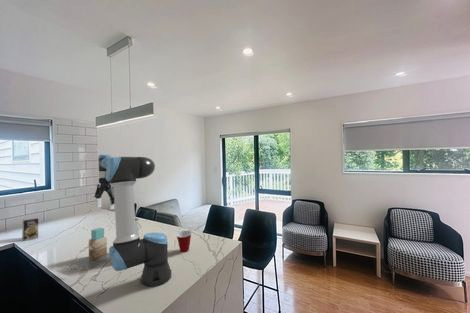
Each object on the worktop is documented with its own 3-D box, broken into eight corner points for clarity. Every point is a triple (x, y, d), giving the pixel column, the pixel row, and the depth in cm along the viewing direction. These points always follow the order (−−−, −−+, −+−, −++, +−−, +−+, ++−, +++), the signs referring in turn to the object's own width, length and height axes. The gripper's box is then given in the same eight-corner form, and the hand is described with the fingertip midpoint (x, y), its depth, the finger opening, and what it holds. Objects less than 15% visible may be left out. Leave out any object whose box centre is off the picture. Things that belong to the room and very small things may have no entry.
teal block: (104, 237, 137) (104, 228, 137) (96, 240, 132) (96, 230, 132) (99, 236, 139) (99, 227, 139) (91, 239, 134) (91, 229, 134)
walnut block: (106, 256, 137) (106, 246, 137) (95, 260, 131) (95, 251, 131) (100, 254, 140) (99, 245, 140) (88, 258, 134) (88, 249, 134)
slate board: (119, 258, 137) (119, 255, 137) (90, 271, 121) (90, 268, 121) (101, 253, 145) (101, 251, 145) (72, 265, 128) (72, 263, 128)
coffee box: (23, 241, 173) (23, 221, 173) (22, 239, 177) (22, 220, 177) (38, 238, 180) (38, 218, 180) (37, 236, 184) (36, 217, 184)
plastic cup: (173, 251, 145) (172, 233, 146) (186, 246, 154) (185, 229, 154) (182, 255, 138) (181, 236, 139) (195, 250, 146) (195, 232, 147)
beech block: (106, 246, 137) (106, 237, 137) (95, 251, 131) (95, 241, 131) (99, 245, 140) (99, 236, 140) (88, 249, 134) (88, 239, 134)
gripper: (122, 176, 143) (122, 208, 143) (99, 176, 154) (99, 206, 154) (111, 177, 137) (112, 210, 136) (88, 177, 147) (88, 208, 147)
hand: (105, 208), depth 145 cm, fingers open, 13 cm apart
